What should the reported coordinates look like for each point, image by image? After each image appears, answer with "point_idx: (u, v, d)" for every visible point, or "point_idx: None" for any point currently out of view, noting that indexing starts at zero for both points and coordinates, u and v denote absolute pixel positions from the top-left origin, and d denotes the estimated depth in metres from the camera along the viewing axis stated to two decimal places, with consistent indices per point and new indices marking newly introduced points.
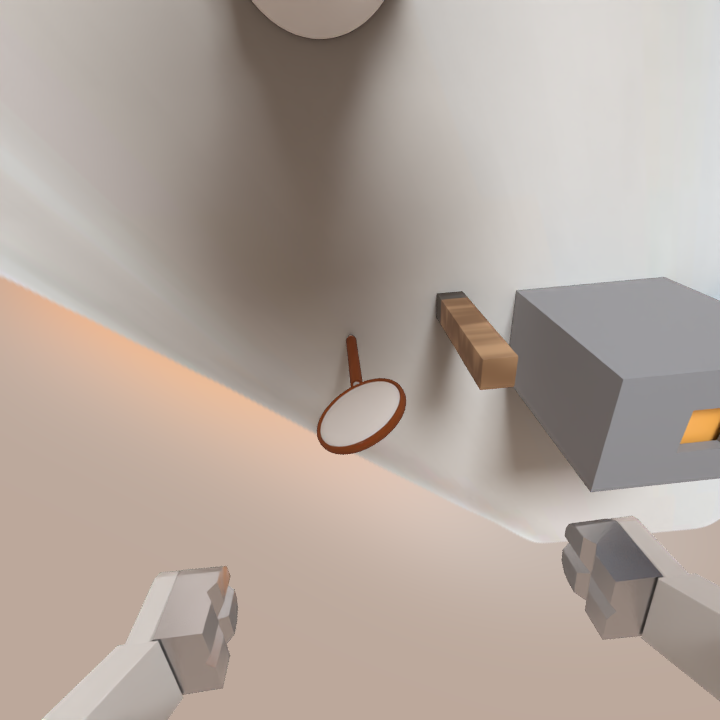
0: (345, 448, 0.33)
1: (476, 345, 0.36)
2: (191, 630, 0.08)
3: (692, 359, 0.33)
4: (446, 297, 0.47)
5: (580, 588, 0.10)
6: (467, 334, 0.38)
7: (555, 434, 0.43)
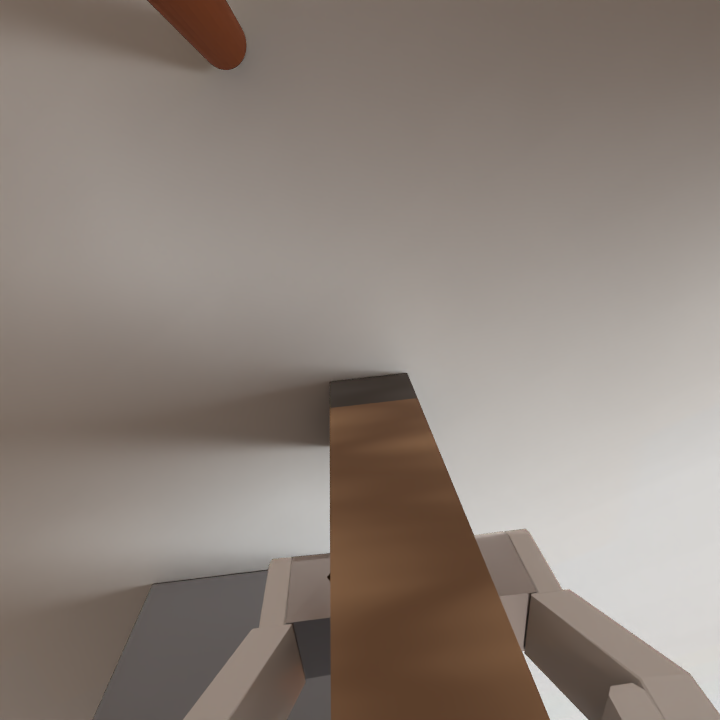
0: None
1: None
2: (323, 615, 0.08)
3: None
4: None
5: None
6: None
7: None
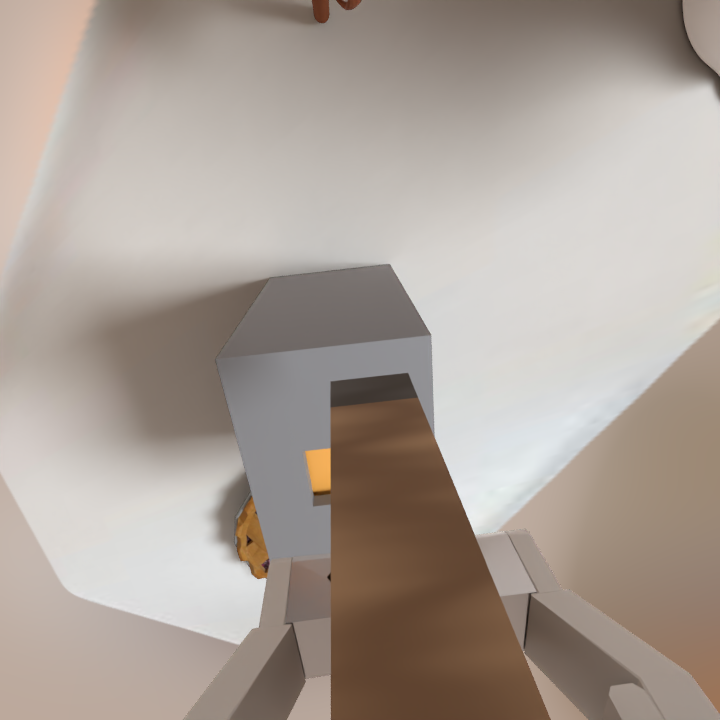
0: None
1: None
2: (323, 614, 0.08)
3: None
4: None
5: None
6: (545, 718, 0.06)
7: (256, 318, 0.29)
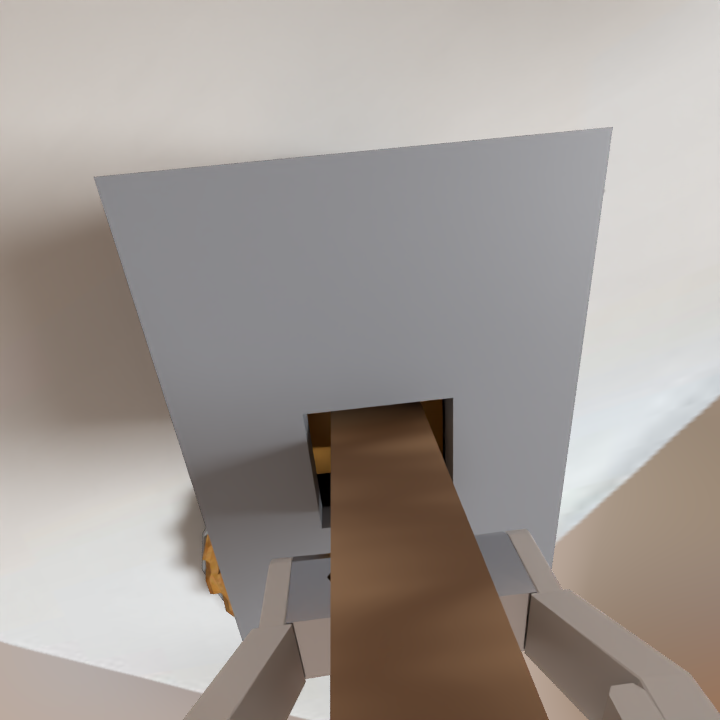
0: None
1: None
2: (323, 614, 0.08)
3: None
4: None
5: None
6: None
7: None
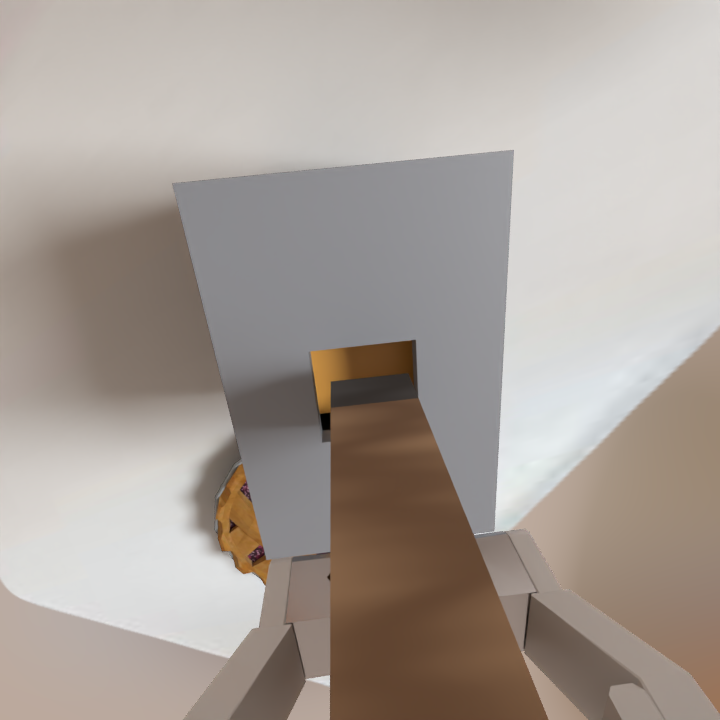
0: None
1: None
2: (323, 614, 0.08)
3: None
4: None
5: None
6: None
7: None
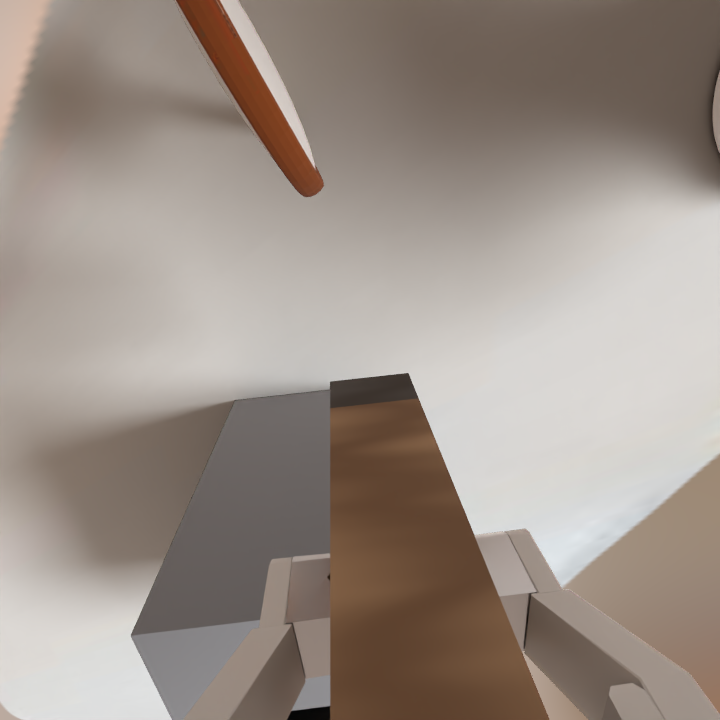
0: None
1: None
2: (323, 614, 0.08)
3: None
4: None
5: None
6: None
7: (202, 510, 0.23)
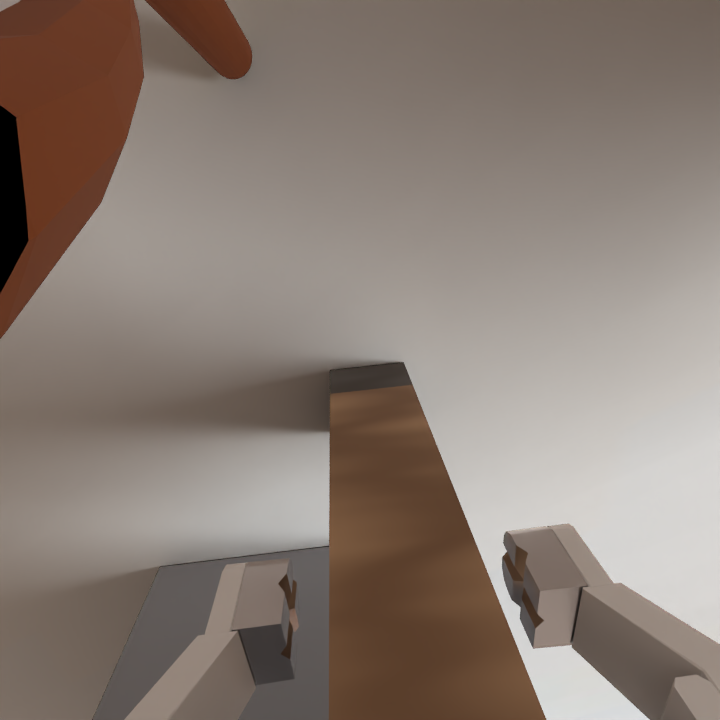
0: None
1: None
2: (270, 621, 0.08)
3: None
4: None
5: (517, 596, 0.09)
6: (514, 651, 0.07)
7: None
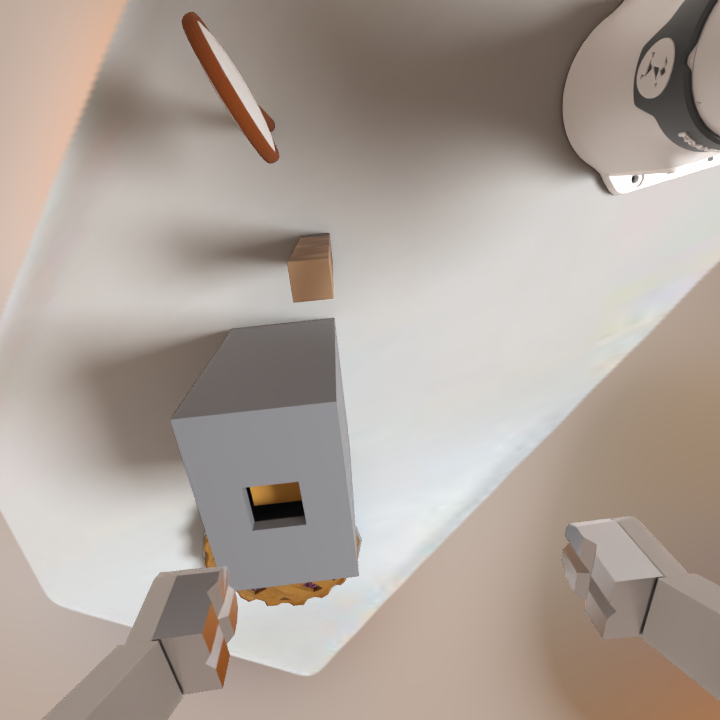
0: (207, 46, 0.21)
1: None
2: (192, 631, 0.08)
3: (345, 462, 0.34)
4: None
5: (580, 588, 0.10)
6: None
7: (209, 376, 0.36)
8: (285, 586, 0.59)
